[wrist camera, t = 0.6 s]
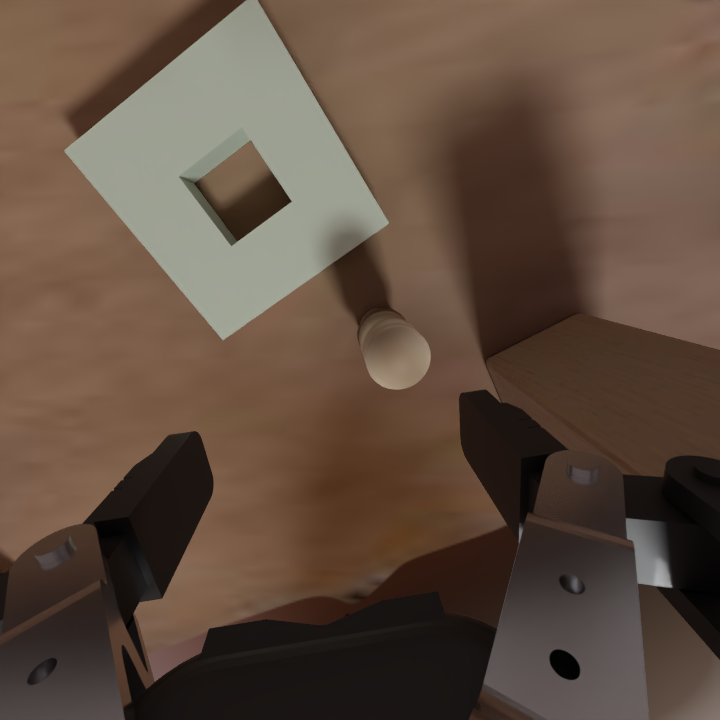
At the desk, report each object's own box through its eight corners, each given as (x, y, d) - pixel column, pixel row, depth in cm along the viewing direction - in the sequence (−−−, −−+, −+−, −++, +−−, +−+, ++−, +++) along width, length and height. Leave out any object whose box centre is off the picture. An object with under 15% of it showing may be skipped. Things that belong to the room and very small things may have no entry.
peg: (385, 293, 31) (409, 313, 22) (410, 331, 33) (443, 367, 23) (345, 320, 32) (352, 351, 22) (371, 357, 33) (388, 401, 24)
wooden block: (515, 438, 37) (709, 638, 18) (482, 358, 34) (673, 499, 15) (604, 395, 36) (903, 557, 17) (578, 310, 33) (907, 394, 14)
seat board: (262, 23, 25) (253, -6, 22) (383, 225, 30) (389, 223, 27) (92, 160, 27) (63, 150, 24) (232, 331, 31) (222, 340, 28)
